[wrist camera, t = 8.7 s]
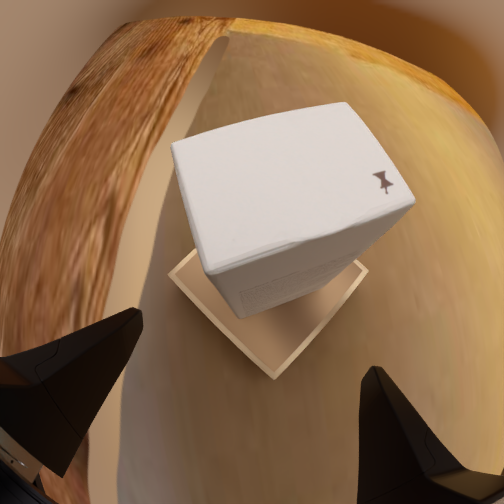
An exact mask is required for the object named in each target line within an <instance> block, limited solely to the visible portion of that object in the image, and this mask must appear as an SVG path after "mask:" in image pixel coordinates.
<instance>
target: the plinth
mask: <svg viewBox="0 0 504 504" xmlns="http://www.w3.org/2000/svg"><path fill="white" fill-rule="evenodd" d="M368 271H369V270H368V269H366V268H365V267H364V266H363V265H362V264H361V263H360V262H359V261H358V260H357V259H356V260H354V261H353V262H352V263H351V264H350V265H349V266H347V267H346V268H345V269H344V270H343V271H342V272H341V273H339V274H338V275H337V276H336V277H335V278H334V279H332V280H331V281H330V282H329V283H328V284H326V285H325V286H324V287H323V288H321V289H319V290H316V291H314V292H311V293H309V294H306V295H304V296H301V297H299V298H296V299H294V300H291V301H289V302H286V303H283V304H281V305H278V306H275V307H273V308H270V309H267V310H265V311H262V312H259V313H256V314H254V315H251V316H248V317H245V318H242V319H238V318H237V317H236V315H235V314H234V313H233V311H232V310H231V308H230V307H229V306H228V304H227V303H226V301H225V300H224V298H223V297H222V296H221V294H220V293H219V292H218V290H217V289H216V288H215V286H214V285H213V284H212V283H211V281H210V280H209V279H208V278H207V276H206V275H205V274H204V271H203V268H202V265H201V262H200V259H199V256H198V253H197V249H196V248H195V249H194V250H193V251H192V252H191V253H189V254H188V255H187V256H186V257H185V258H184V259H183V260H182V261H181V262H180V263H179V264H178V265H177V266H176V267H175V268H174V269H173V270H172V271H171V272H170V273H169V274H168V276H169V277H170V278H171V279H172V280H173V281H174V282H175V283H176V285H177V286H178V287H179V288H180V289H181V290H182V291H183V292H184V293H185V294H186V295H187V296H188V297H189V298H190V300H191V301H192V302H193V303H194V304H195V305H196V306H197V307H198V308H199V309H200V310H201V311H202V312H203V313H204V314H205V315H206V316H207V317H208V318H209V319H210V320H211V321H212V322H213V323H214V324H215V325H216V326H217V327H218V328H219V329H220V330H221V331H222V332H223V333H224V334H225V335H226V336H227V337H228V338H229V339H230V340H231V341H232V342H233V343H234V344H235V345H236V346H237V347H238V348H239V349H240V350H241V351H242V352H243V353H245V354H246V355H247V356H248V357H249V358H250V359H251V360H252V361H253V362H254V363H255V364H256V365H257V366H259V367H260V368H261V369H262V370H263V371H264V372H265V373H266V374H267V375H269V376H270V377H271V378H272V379H273V380H275V379H276V378H277V377H278V376H279V375H280V374H281V373H282V372H283V371H284V370H285V369H286V368H287V367H288V366H289V365H290V364H291V363H292V362H293V361H294V359H295V358H296V357H297V356H298V355H299V354H300V353H301V352H302V351H303V350H304V349H305V348H306V347H307V345H308V344H309V343H310V342H311V341H312V340H313V339H314V338H315V336H316V335H317V334H318V333H319V332H320V331H321V330H322V328H323V327H324V326H325V325H326V324H327V323H328V321H329V320H330V319H331V318H332V317H333V316H334V314H335V313H336V312H337V311H338V310H339V308H340V307H341V306H342V305H343V303H344V302H345V301H346V300H347V298H348V297H349V296H350V295H351V293H352V292H353V291H354V290H355V288H356V287H357V286H358V284H359V283H360V282H361V281H362V279H363V278H364V277H365V275H366V274H367V273H368Z"/></svg>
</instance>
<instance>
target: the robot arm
mask: <svg viewBox="0 0 504 504" xmlns="http://www.w3.org/2000/svg"><path fill="white" fill-rule="evenodd" d="M142 330H143V317H142V311H141V310H139V309H136V308H134V307H132V308H129V309H126V310H124V311H122V312H119V313H117V314H115V315H112V316H110V317H108V318H106V319H103V320H101V321H99V322H96V323H94V324H92V325H89V326H87V327H85V328H82V329H80V330H78V331H75V332H73V333H71V334H68V335H66V336H64V337H62V338H61V339H57V340H54V341H52V342H50V343H47V344H45V345H42V346H39V347H36V348H33V349H30V350H27V351H24V352H21V353H17V354H14V355H11V356H7V357H0V504H58V503H57V502H55V501H54V500H52V499H51V498H50V497H48V496H47V495H46V494H45V491H44V488H43V485H42V482H41V479H40V475H39V471H40V470H41V468H42V466H43V465H45V466H46V467H47V468H49V469H50V470H51V471H53V472H54V473H55V474H57V475H58V476H60V477H61V478H63V476H64V475H65V473H66V471H67V469H68V467H69V465H70V463H71V461H72V459H73V457H74V455H75V453H76V451H77V449H78V448H79V446H80V444H81V442H82V440H83V438H84V436H85V434H86V433H87V431H88V429H89V427H90V425H91V423H92V422H93V420H94V418H95V416H96V415H97V412H98V411H99V409H100V408H101V406H102V404H103V402H104V401H105V399H106V397H107V396H108V394H109V392H110V391H111V389H112V387H113V385H114V384H115V382H116V380H117V379H118V377H119V375H120V374H121V372H122V371H123V369H124V367H125V366H126V364H127V362H128V360H129V358H130V356H131V354H132V352H133V350H134V348H135V345H136V343H137V341H138V339H139V337H140V335H141V333H142ZM357 504H504V476H500V475H493V474H487V473H481V472H476V471H471V470H469V469H467V468H465V467H464V466H462V465H461V464H460V463H459V461H458V460H457V459H456V458H455V457H454V456H453V455H452V454H451V453H450V452H449V451H448V449H447V448H446V447H445V446H444V445H443V444H442V443H441V442H440V440H439V439H438V438H437V437H436V435H435V434H434V433H433V432H432V430H431V429H430V428H429V427H428V425H427V424H426V422H425V421H424V420H423V419H422V417H421V416H420V415H419V413H418V412H417V411H416V410H415V408H414V407H413V406H412V404H411V403H410V402H409V401H408V399H407V398H406V397H405V395H404V394H403V393H402V392H401V390H400V389H399V388H398V387H397V385H396V384H395V383H394V382H393V380H392V379H391V378H390V377H389V375H388V374H387V373H386V372H385V370H384V369H383V368H382V367H380V366H371V367H370V369H369V370H368V372H367V373H366V374H365V376H364V377H363V379H362V381H361V392H360V406H359V474H358V493H357Z"/></svg>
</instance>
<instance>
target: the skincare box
mask: <svg viewBox="0 0 504 504" xmlns="http://www.w3.org/2000/svg"><path fill="white" fill-rule="evenodd" d="M171 153H172V157H173V161H174V166H175V171H176V175H177V179H178V183H179V187H180V191H181V195H182V199H183V203H184V207H185V211H186V214H187V218H188V222H189V225H190V229H191V232H192V236H193V239H194V243H195V246H196V249H197V253H198V256H199V259H200V262H201V265H202V268H203V271H204V274H205V275H206V276H207V278H208V279H209V280H210V281H211V283H212V284H213V285H214V286H215V288H216V289H217V290H218V292H219V293H220V294H221V296H222V297H223V298H224V300H225V301H226V303H227V304H228V306H229V307H230V308H231V310H232V311H233V313H234V314H235V315H236V317H237V318H238V319H242V318H245V317H248V316H251V315H254V314H256V313H259V312H262V311H265V310H267V309H270V308H273V307H275V306H278V305H281V304H283V303H286V302H289V301H291V300H294V299H296V298H299V297H301V296H304V295H306V294H309V293H311V292H314V291H316V290H319V289H321V288H323V287H324V286H325V285H326V284H328V283H329V282H330V281H331V280H332V279H334V278H335V277H336V276H337V275H338V274H339V273H341V272H342V271H343V270H344V269H345V268H346V267H347V266H349V265H350V264H351V263H352V262H353V261H354V260H356V259H357V258H358V257H359V256H360V255H361V254H363V253H364V252H365V251H366V250H367V249H368V248H369V247H370V246H371V245H372V244H374V243H375V242H376V241H377V240H378V239H379V238H380V237H381V236H382V235H384V234H385V233H386V232H387V231H388V230H389V229H390V228H392V227H393V226H394V225H395V224H396V223H397V222H398V221H399V220H400V219H401V218H402V217H403V216H404V214H405V213H406V212H407V211H408V210H409V209H410V208H411V207H412V206H413V205H414V204H415V201H416V200H415V197H414V195H413V194H412V192H411V190H410V189H409V187H408V186H407V184H406V182H405V181H404V179H403V178H402V176H401V175H400V173H399V171H398V170H397V168H396V167H395V165H394V164H393V162H392V161H391V159H390V158H389V156H388V155H387V154H386V152H385V151H384V149H383V148H382V146H381V145H380V143H379V142H378V141H377V139H376V138H375V137H374V135H373V134H372V133H371V131H370V130H369V129H368V127H367V126H366V125H365V123H364V122H363V121H362V120H361V118H360V117H359V116H358V115H357V114H356V113H355V111H354V110H353V109H352V108H351V107H350V106H349V105H348V104H347V103H346V102H339V103H333V104H326V105H320V106H314V107H308V108H302V109H297V110H292V111H287V112H282V113H277V114H272V115H267V116H263V117H259V118H254V119H250V120H246V121H243V122H239V123H235V124H232V125H228V126H225V127H221V128H217V129H214V130H211V131H207V132H204V133H201V134H198V135H195V136H192V137H189V138H185V139H182V140H179V141H176V142H174V143H172V144H171Z"/></svg>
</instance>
